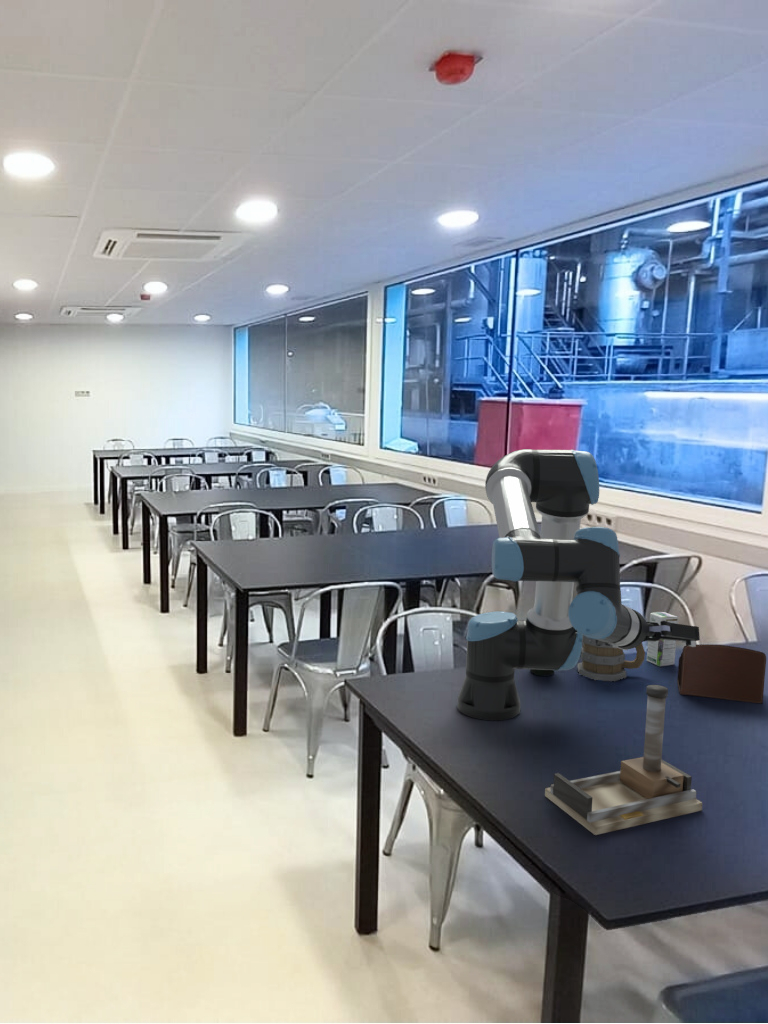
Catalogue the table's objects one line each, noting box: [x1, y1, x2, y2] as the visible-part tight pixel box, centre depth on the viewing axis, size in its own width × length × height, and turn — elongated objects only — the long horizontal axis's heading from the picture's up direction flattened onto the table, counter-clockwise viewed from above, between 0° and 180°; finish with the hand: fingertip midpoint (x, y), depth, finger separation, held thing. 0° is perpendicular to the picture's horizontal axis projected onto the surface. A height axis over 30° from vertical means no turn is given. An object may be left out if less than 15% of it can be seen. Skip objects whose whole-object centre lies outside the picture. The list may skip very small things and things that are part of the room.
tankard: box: [576, 635, 646, 682], centre depth 222 cm, size 20×13×15 cm, turn 82°
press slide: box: [619, 684, 684, 799], centre depth 150 cm, size 7×12×20 cm, turn 23°
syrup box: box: [646, 611, 679, 667], centre depth 233 cm, size 6×6×14 cm
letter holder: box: [676, 643, 767, 705], centre depth 209 cm, size 10×20×14 cm, turn 74°
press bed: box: [544, 759, 703, 836], centre depth 150 cm, size 24×15×6 cm, turn 113°
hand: (658, 641), depth 163 cm, fingers open, 13 cm apart
